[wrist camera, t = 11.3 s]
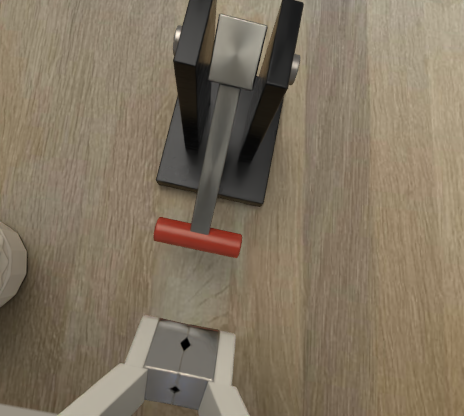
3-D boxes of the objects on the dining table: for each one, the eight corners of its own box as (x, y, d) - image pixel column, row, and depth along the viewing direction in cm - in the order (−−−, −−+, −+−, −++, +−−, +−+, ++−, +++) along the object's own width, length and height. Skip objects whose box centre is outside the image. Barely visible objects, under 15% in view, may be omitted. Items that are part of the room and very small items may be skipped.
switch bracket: (260, 207, 25) (311, 157, 13) (157, 184, 25) (119, 113, 13) (282, 90, 27) (344, -41, 15) (187, 67, 26) (177, -86, 15)
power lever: (237, 247, 21) (236, 267, 18) (159, 231, 20) (149, 248, 18) (290, 41, 17) (298, 32, 14) (195, 16, 16) (187, 4, 14)
